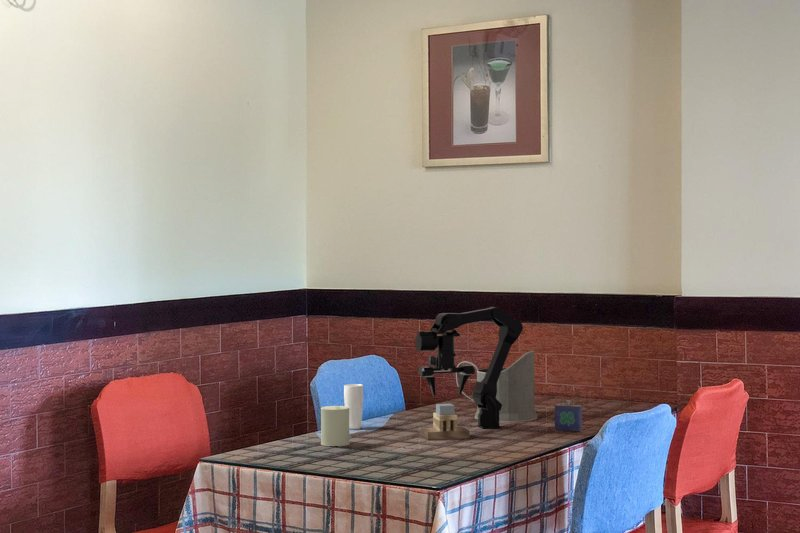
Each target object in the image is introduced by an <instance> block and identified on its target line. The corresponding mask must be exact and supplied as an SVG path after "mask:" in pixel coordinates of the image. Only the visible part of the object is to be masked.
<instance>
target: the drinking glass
mask: <svg viewBox="0 0 800 533" xmlns="http://www.w3.org/2000/svg"><path fill="white" fill-rule="evenodd" d="M343 402H344V406H347V407H349V430H359V429H362V420H363V408H364V407H363V406H364V385H363V384H361V383H359V384H358V383H348V384H344V385H343Z"/></svg>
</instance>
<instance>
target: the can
mask: <svg viewBox="0 0 800 533" xmlns="http://www.w3.org/2000/svg"><path fill="white" fill-rule="evenodd" d="M320 423H321V424H320V425H321V430H320V434H321V435H320V438H321V440H320V445H321V446H323V447H330V446H338V447H346V446H349V445H351V442H350V429H349V407H347V406H345V405H326V406H321V408H320Z"/></svg>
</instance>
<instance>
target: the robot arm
mask: <svg viewBox="0 0 800 533" xmlns="http://www.w3.org/2000/svg"><path fill="white" fill-rule="evenodd" d="M488 320H489V321H490V320H492V322H493V323H494V324H495V325H496V326H497V327H498V342H497V344H496V347H495V350H494V352H493V355H492V357H491V360H490V362H489V365H488V370H487V372H486V375H485V377H484V379H483V380H482V381H481V382H478V381H477V380H476V382H475V385H474V388H473V389H472V391H471V393H472V398H473V399H474V401H473V402H475V403H476V407H477V406H478V408H481V409H479V414H478V419H477V426H478V427H479V428H482V429H501V428H502V426H501V425H500V422H499V411H500V410H501V407H502V404H501V403H500V402H499V401H498V400H497V399H496V395H497V381H498V379H499V376H500V374H501V371H502V369H503V368H504V365H505V363H506V360H507V358H508V355H509V353H510V350H511V347H512V345H513V344H514V343H515V342H517V340H518V339H519V337H520V336H521V334H522V333H523V329H524V325H523V322H521V320H519V319H516V318H514V317H513V316H511V315H509V314H508V313H505V312H504V311H503V310H502V309H500V308H499V307H497V306H489V307H487V308H482V309H481V308H480V309H477V310H476V309H475V310H472V311H471V310H470V311H467V312H466V311H465V312H460V313H459V312H441V313H438V314H437V315H436V317H435V319H434V323H433V324H432V326H431V327H430V329H429V330H427V331H424V330H418V331H417V335H416V337H415V340H414V344H415V345H414V346H415V348H416V350H417V351H418V352H431V351H435V350H436V349H437V352H436V357H435V355H434V356H433V355H431V356H430V355H428V360H427V362H428V366H426V365H425V366H419V367H418V370H417V373H418V374H417V375H419V376H421V377H422V378H424V379H425V380H426V381H427V383H428V386H429V388H430V391H431V394H432V397H435V396H436V379H435V376H434V374H453V373H454V374H456V373H457V372H458V382H459V387H458V396H461V395H462V394H463V393H462V390H463V391H464V388H465V386H466V383H467V381H468V379H469V377H472V375H475V374H476V368H475V367H474V366H473V365H471V364H469V363H467V364H460V365H459V367H457V366H456V365H455V364H456V363H455V360H456V359H455V358H456V352H455V337H460V336H461V334H460V333H459V332H458V331H457V328H460V327H461V326H463V325H466V324H472V323H477V322H482V321H488Z"/></svg>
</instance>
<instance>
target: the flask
mask: <svg viewBox="0 0 800 533" xmlns="http://www.w3.org/2000/svg"><path fill="white" fill-rule="evenodd" d="M565 401H566V402H562V403H561V402H560V403H558V404H555V405H554V432H561V433H582V432H583V420H582V419H583V406H582V405H581V404H577V405H576V404H571V402H572V401H571V400H570V399H566V400H565Z"/></svg>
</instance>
